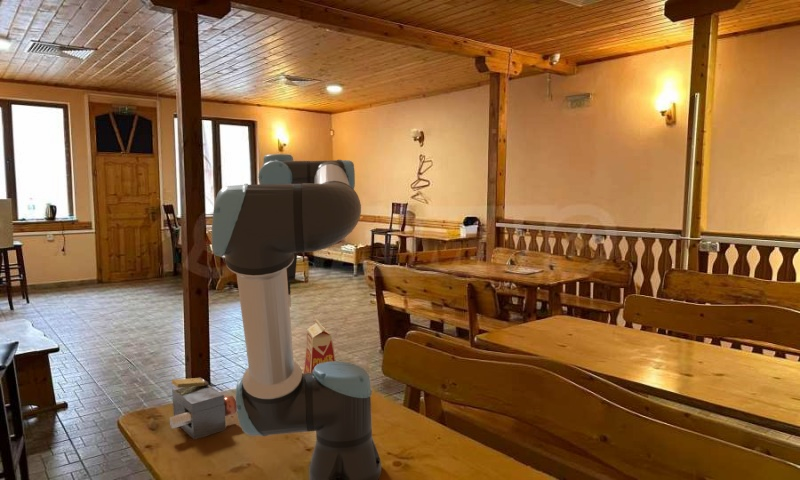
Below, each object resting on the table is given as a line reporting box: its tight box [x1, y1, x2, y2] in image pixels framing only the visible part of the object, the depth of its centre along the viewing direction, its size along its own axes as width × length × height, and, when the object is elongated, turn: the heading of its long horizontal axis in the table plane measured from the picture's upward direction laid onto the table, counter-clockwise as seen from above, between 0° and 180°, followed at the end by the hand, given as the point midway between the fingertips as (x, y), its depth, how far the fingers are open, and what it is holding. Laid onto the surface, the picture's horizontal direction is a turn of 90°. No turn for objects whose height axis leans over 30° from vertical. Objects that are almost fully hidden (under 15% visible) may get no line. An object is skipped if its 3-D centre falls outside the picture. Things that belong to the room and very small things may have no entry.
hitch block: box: [171, 384, 227, 441], centre depth 140 cm, size 14×8×9 cm, turn 41°
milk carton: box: [303, 318, 336, 373], centre depth 166 cm, size 9×9×20 cm
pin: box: [169, 395, 237, 430], centre depth 137 cm, size 5×16×5 cm, turn 131°
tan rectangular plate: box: [171, 377, 210, 388], centre depth 143 cm, size 5×8×1 cm, turn 131°
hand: (284, 306), depth 142 cm, fingers closed
